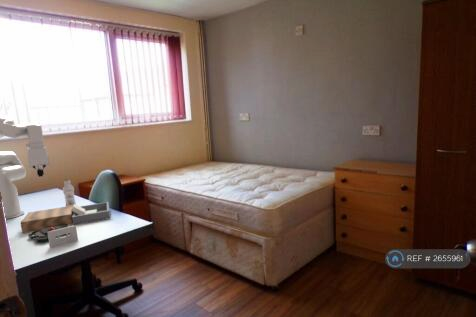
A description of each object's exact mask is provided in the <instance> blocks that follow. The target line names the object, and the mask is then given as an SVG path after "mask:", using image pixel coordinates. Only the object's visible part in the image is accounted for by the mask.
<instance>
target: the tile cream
mask: <svg viewBox="0 0 476 317" xmlns="http://www.w3.org/2000/svg"><path fill="white" fill-rule="evenodd" d="M71 211H73V212H75V213H77V214H79V215H83V214H84V213H85V209H84V208H82V207H80V206H79V205H78V204H77V203H76V204H74V205H73V207H72V208H71Z"/></svg>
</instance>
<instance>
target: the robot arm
mask: <svg viewBox="0 0 476 317" xmlns="http://www.w3.org/2000/svg"><path fill="white" fill-rule="evenodd" d="M4 137H8V138H11V139H19V138H27V142H28V143H26V144H25V147H28V148H27V153H26V154H27V163H28V167H29V168H33V169H35V170H36V172H37V176H38V177H42V178H43V177H44V174H45V173H44V168H46V167H49V166H50V164H51V163H50V159H49V158H50V157H49V153H48V150H47V147H46V146H45V142H44V136H43V127H42V124H38V123H21V124H19V123H18V124H15V122H14V119H13V118H12V117H11V116H9V115H5V114H4V115H0V139H2V138H4ZM39 166H40V167H39ZM26 176H27V170H26V168H25V166H24V165H23V163H22V162H21V160H20V158H19V157H18V155H17V154H16V153H15V152H14V151H11V150H10V151H9V150H7V151H0V192H1V196H2V202H3V207H4V213H5V218H6V219H5V220H7V219H14V218H19V217H21V216H23V215H24V214H25V211H23V210H21V203H20V199H19V198H20V197H19V194H18V188H17V185H16V184H15V183H13V182H14V181H18V180H21V179H24V178H25V177H26Z"/></svg>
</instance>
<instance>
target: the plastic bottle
mask: <svg viewBox="0 0 476 317" xmlns="http://www.w3.org/2000/svg"><path fill="white" fill-rule="evenodd" d="M63 183H64V184H63V187H62V191H63V195H64V199H65V205H64V207H67V206H73V205H74V204H76V205H77V203H76V199H75V188H74V186H73V185H72V184H71V179H65V180H64V181H63Z"/></svg>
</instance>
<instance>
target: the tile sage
mask: <svg viewBox="0 0 476 317" xmlns="http://www.w3.org/2000/svg"><path fill="white" fill-rule="evenodd" d="M91 213H97V209H95V210H89V211H85V213H84V214H83V215H85V214H91Z"/></svg>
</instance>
